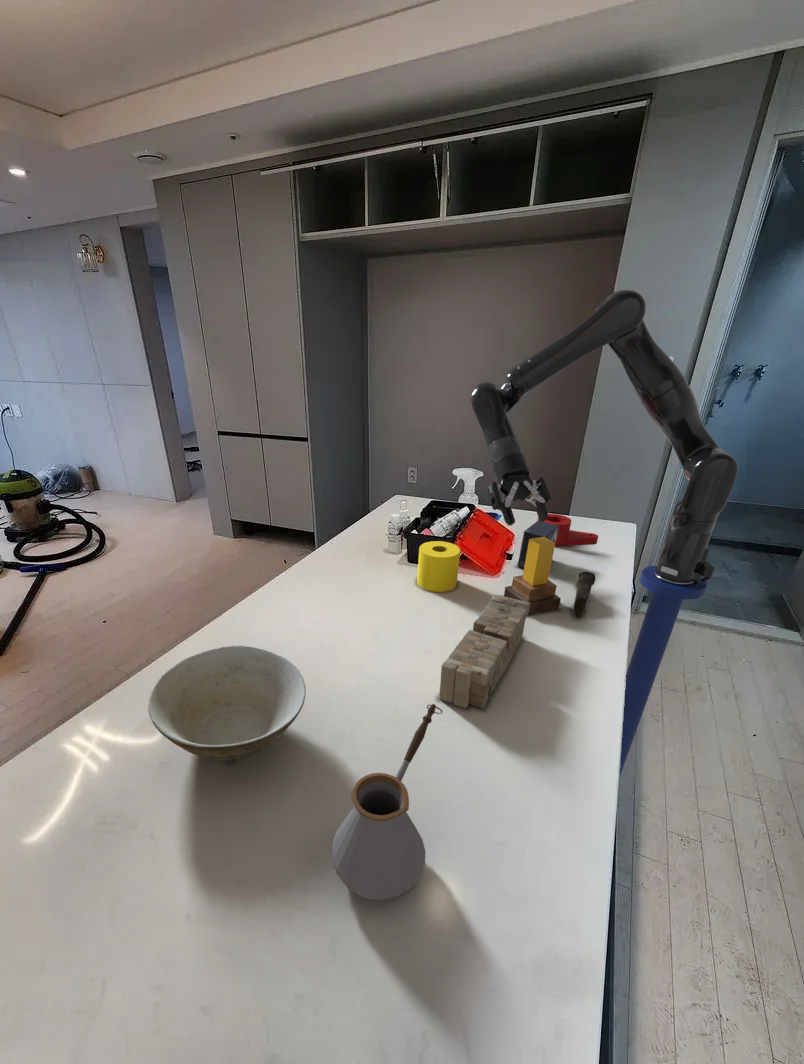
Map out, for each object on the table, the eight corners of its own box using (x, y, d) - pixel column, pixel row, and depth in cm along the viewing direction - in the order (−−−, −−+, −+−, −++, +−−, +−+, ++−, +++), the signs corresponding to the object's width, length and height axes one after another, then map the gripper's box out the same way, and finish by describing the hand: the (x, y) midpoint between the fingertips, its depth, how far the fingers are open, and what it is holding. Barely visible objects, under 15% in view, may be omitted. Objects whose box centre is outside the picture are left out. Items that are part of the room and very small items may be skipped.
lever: (536, 544, 152) (540, 523, 148) (532, 533, 160) (536, 513, 156) (600, 548, 149) (605, 527, 146) (593, 536, 157) (598, 516, 154)
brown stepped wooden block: (535, 592, 126) (539, 570, 123) (558, 609, 118) (563, 586, 115) (503, 597, 123) (506, 575, 120) (524, 615, 116) (529, 592, 113)
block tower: (479, 717, 88) (526, 634, 109) (484, 680, 83) (532, 600, 105) (436, 701, 91) (490, 624, 113) (440, 664, 87) (495, 591, 108)
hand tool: (576, 583, 130) (580, 566, 128) (593, 586, 128) (597, 570, 126) (563, 616, 116) (567, 599, 113) (582, 621, 114) (586, 603, 112)
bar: (536, 576, 120) (544, 536, 115) (547, 583, 117) (555, 543, 112) (522, 578, 119) (529, 538, 114) (532, 585, 116) (539, 545, 111)
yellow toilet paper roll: (455, 575, 134) (459, 542, 129) (457, 593, 125) (460, 558, 121) (417, 573, 135) (420, 540, 131) (416, 590, 127) (418, 556, 122)
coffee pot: (398, 932, 56) (404, 846, 49) (313, 880, 62) (307, 795, 54) (466, 796, 72) (478, 716, 65) (394, 764, 78) (398, 687, 70)
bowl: (336, 720, 86) (335, 672, 81) (236, 822, 69) (227, 769, 64) (236, 673, 97) (230, 629, 93) (128, 751, 80) (113, 702, 75)
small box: (540, 573, 135) (547, 536, 130) (516, 567, 138) (522, 531, 133) (553, 560, 142) (560, 524, 137) (530, 554, 146) (536, 519, 140)
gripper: (488, 453, 116) (509, 518, 112) (542, 449, 119) (564, 511, 115) (474, 471, 123) (493, 532, 119) (525, 466, 126) (545, 525, 122)
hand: (528, 522), depth 117 cm, fingers open, 8 cm apart
